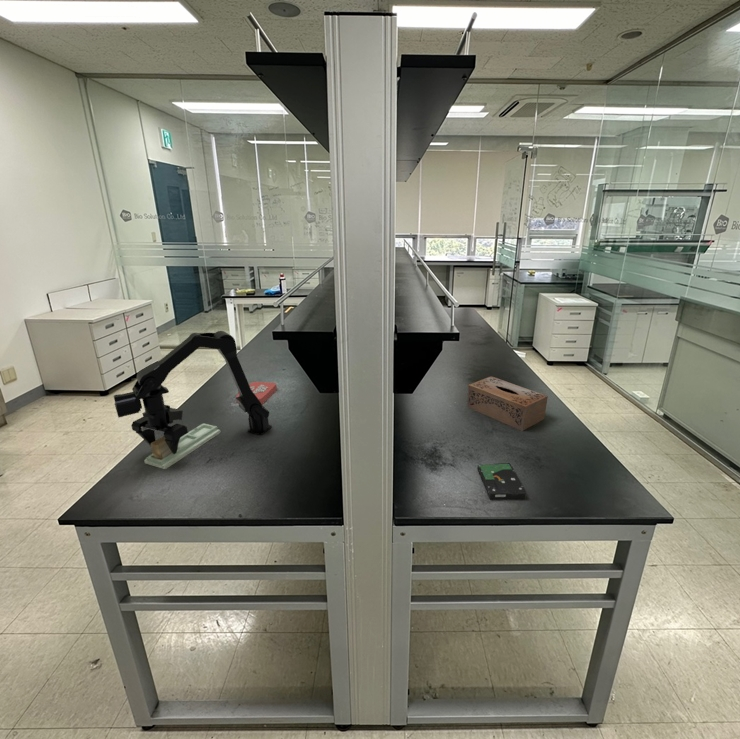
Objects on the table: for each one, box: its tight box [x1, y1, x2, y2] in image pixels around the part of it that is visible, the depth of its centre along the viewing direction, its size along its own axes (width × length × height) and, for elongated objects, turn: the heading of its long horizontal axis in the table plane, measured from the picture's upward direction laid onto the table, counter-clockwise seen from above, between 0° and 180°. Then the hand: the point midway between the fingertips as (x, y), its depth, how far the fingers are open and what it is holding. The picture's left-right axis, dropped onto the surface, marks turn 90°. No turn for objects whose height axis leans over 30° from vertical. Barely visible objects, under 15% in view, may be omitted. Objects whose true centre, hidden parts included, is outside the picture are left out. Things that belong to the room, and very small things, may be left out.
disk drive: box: [476, 462, 527, 501], centre depth 123 cm, size 10×3×15 cm
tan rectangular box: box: [150, 435, 172, 460], centre depth 137 cm, size 3×6×6 cm, turn 156°
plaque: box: [235, 381, 278, 405], centre depth 184 cm, size 18×4×15 cm
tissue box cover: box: [466, 376, 549, 432], centre depth 164 cm, size 26×14×10 cm, turn 38°
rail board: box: [143, 423, 221, 470], centre depth 145 cm, size 9×25×3 cm, turn 156°
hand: (164, 450), depth 137 cm, fingers open, 9 cm apart
